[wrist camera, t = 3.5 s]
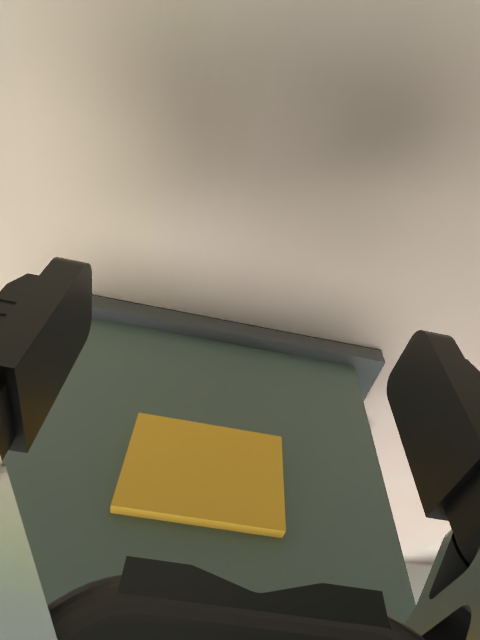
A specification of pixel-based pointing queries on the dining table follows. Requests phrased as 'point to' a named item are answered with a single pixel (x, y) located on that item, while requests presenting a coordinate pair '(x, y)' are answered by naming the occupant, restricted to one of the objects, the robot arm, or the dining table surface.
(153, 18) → the dining table surface
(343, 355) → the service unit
